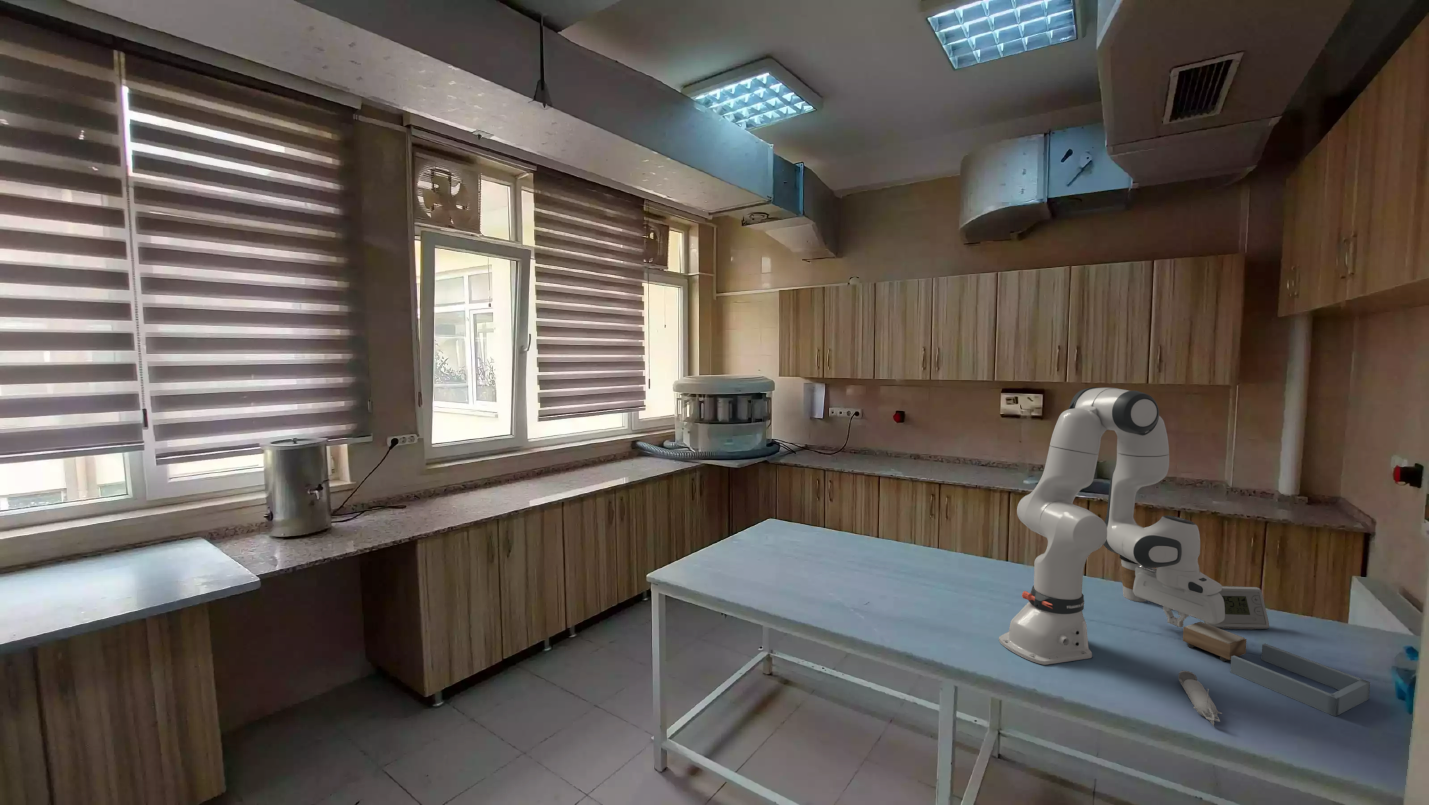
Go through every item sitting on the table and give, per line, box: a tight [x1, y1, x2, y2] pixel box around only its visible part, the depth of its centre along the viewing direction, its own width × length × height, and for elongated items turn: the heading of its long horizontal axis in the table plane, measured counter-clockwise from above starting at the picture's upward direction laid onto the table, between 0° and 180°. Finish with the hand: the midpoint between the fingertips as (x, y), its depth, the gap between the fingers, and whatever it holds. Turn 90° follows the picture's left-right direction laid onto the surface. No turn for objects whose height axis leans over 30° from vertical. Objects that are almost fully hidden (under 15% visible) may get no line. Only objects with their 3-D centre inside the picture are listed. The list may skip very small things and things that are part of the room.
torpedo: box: [1178, 670, 1223, 727], centre depth 122 cm, size 18×5×6 cm, turn 155°
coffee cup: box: [1119, 555, 1147, 603], centre depth 173 cm, size 8×8×15 cm
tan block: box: [1182, 621, 1248, 662], centre depth 142 cm, size 7×10×5 cm
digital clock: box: [1203, 585, 1270, 630], centre depth 156 cm, size 16×9×11 cm, turn 71°
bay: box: [1229, 643, 1371, 717], centre depth 128 cm, size 14×18×4 cm
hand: (1175, 624), depth 151 cm, fingers closed
